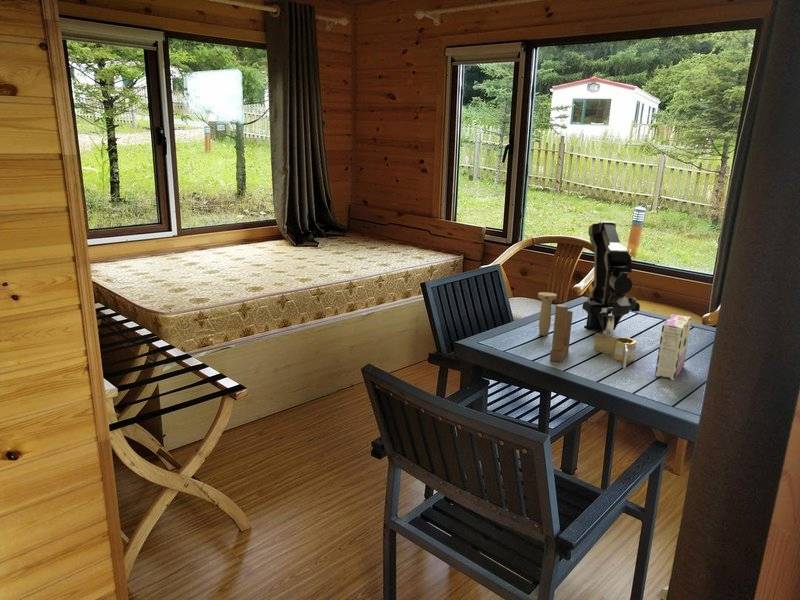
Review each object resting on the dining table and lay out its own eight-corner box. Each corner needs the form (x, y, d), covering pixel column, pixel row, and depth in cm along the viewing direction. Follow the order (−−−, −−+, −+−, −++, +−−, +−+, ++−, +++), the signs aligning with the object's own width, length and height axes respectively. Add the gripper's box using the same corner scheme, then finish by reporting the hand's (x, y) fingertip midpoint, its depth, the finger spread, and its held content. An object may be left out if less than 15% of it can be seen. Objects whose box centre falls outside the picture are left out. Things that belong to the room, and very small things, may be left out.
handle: (534, 331, 218) (538, 291, 214) (553, 333, 217) (557, 293, 213) (534, 335, 214) (537, 294, 210) (552, 337, 212) (556, 296, 208)
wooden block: (568, 352, 198) (574, 299, 193) (561, 363, 189) (566, 307, 184) (557, 350, 199) (562, 298, 195) (549, 360, 190) (554, 306, 185)
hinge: (579, 355, 195) (581, 338, 194) (598, 347, 203) (600, 330, 202) (624, 369, 184) (627, 351, 183) (643, 360, 192) (645, 342, 191)
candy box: (664, 362, 191) (671, 313, 187) (684, 367, 188) (692, 316, 183) (654, 376, 180) (661, 323, 176) (675, 380, 177) (683, 327, 172)
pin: (600, 342, 208) (603, 314, 206) (604, 340, 211) (608, 313, 208) (608, 344, 206) (612, 316, 204) (613, 342, 208) (616, 315, 206)
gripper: (601, 293, 193) (596, 339, 198) (652, 291, 198) (646, 336, 202) (584, 284, 204) (579, 328, 208) (633, 283, 208) (627, 326, 212)
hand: (608, 330), depth 207 cm, fingers closed on pin, 3 cm apart
